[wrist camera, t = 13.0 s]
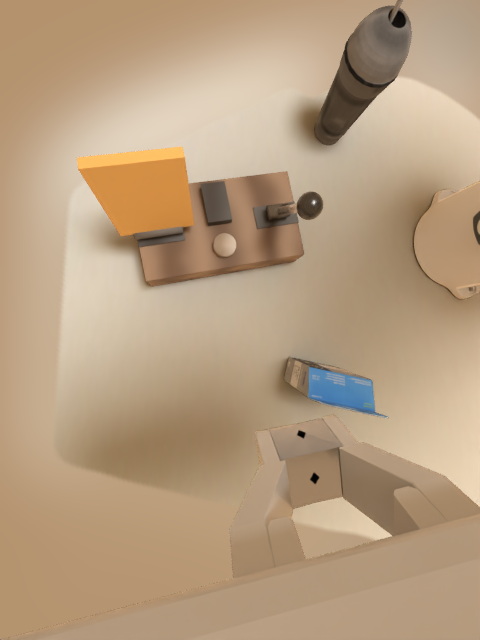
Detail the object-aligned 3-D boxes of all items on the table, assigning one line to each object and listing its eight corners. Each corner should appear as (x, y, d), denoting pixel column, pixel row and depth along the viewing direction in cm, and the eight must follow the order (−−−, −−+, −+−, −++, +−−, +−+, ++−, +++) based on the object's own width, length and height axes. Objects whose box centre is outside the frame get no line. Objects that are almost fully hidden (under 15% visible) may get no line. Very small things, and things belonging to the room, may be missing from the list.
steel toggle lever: (285, 200, 35) (329, 188, 25) (286, 220, 36) (330, 217, 26) (264, 202, 35) (300, 192, 24) (266, 223, 36) (301, 221, 25)
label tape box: (340, 367, 41) (397, 384, 29) (335, 393, 41) (390, 420, 28) (287, 356, 40) (324, 368, 28) (282, 382, 40) (316, 405, 27)
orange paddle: (193, 222, 34) (181, 144, 23) (195, 233, 34) (185, 160, 23) (123, 232, 33) (76, 154, 22) (125, 244, 33) (78, 171, 22)
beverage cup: (321, 161, 42) (426, 8, 22) (297, 121, 41) (382, -70, 22) (356, 140, 43) (487, -23, 23) (333, 102, 42) (446, -98, 22)
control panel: (279, 186, 41) (289, 166, 35) (294, 261, 40) (307, 251, 35) (136, 205, 37) (125, 186, 32) (152, 286, 37) (143, 279, 32)
